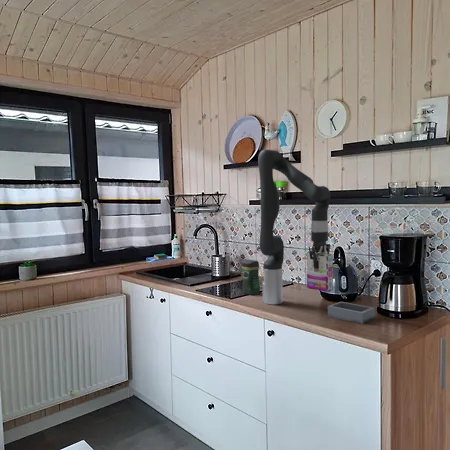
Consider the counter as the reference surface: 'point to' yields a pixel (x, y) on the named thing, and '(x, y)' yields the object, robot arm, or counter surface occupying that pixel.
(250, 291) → the coffee jar
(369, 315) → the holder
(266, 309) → the counter surface
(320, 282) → the candy bar box
